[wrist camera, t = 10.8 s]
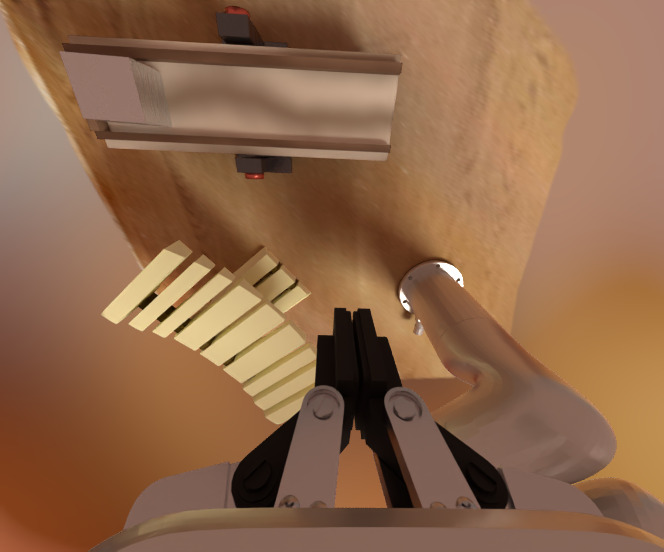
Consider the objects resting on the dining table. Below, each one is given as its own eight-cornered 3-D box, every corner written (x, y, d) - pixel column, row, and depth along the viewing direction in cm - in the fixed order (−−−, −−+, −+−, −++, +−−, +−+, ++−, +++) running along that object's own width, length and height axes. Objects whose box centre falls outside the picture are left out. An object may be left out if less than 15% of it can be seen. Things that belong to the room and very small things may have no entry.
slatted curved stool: (174, 263, 45) (89, 325, 29) (228, 210, 40) (163, 248, 24) (284, 352, 56) (267, 430, 40) (337, 318, 51) (340, 392, 35)
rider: (172, 127, 27) (145, 123, 23) (119, 123, 27) (83, 118, 23) (160, 72, 25) (128, 57, 21) (102, 67, 25) (59, 51, 21)
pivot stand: (292, 174, 37) (282, 181, 29) (241, 172, 37) (218, 178, 29) (287, 43, 30) (273, 4, 22) (224, 39, 30) (186, -2, 22)
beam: (380, 159, 33) (389, 161, 28) (133, 148, 32) (97, 147, 27) (392, 67, 28) (405, 49, 23) (103, 50, 27) (51, 28, 22)
